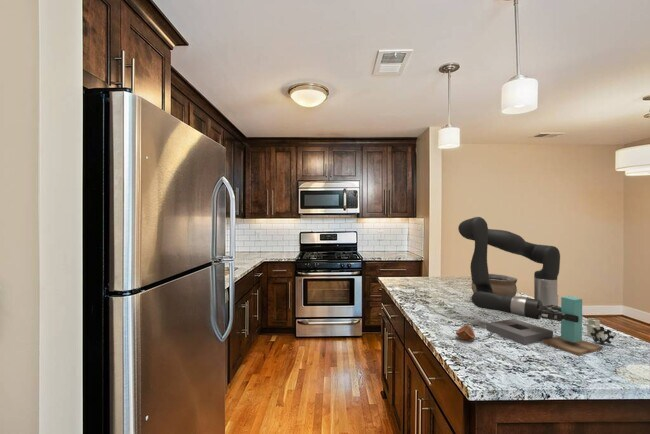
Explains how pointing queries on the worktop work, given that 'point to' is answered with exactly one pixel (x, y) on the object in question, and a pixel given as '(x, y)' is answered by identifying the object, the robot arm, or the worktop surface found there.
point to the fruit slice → (466, 333)
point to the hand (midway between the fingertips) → (580, 317)
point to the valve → (598, 331)
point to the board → (572, 345)
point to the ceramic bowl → (501, 285)
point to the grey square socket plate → (519, 331)
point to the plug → (569, 328)
